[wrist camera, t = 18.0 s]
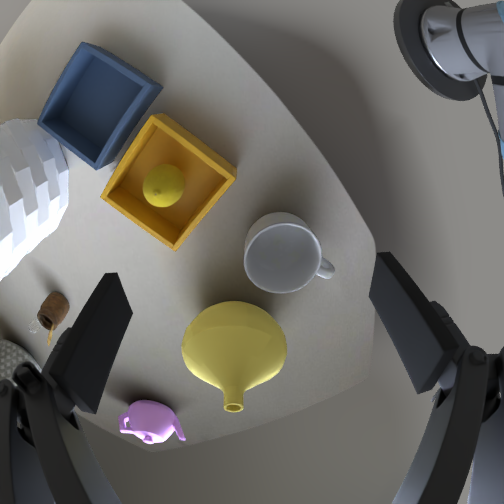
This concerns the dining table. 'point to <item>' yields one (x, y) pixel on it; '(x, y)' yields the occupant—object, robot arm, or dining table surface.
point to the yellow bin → (191, 165)
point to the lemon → (164, 185)
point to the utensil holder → (52, 312)
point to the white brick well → (28, 189)
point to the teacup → (283, 254)
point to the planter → (13, 359)
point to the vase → (234, 349)
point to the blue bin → (97, 104)
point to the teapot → (150, 421)
